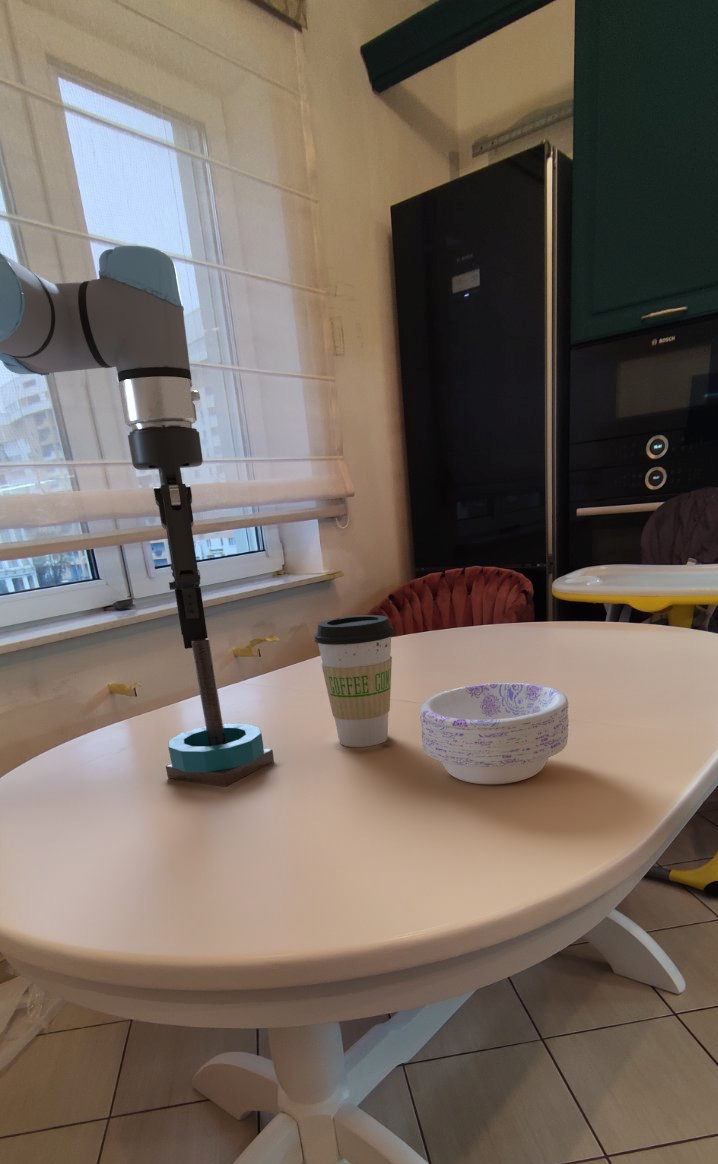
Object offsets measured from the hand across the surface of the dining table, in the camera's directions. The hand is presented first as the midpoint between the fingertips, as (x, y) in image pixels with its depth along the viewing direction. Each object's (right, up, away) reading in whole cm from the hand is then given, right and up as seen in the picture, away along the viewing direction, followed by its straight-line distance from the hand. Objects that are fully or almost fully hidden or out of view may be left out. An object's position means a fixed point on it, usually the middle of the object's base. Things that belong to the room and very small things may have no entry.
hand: (194, 639), depth 87 cm
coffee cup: (+20, -12, +6) cm, 24 cm away
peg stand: (+3, -16, 0) cm, 16 cm away
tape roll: (+3, -14, 0) cm, 14 cm away
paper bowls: (+34, -16, -8) cm, 39 cm away
